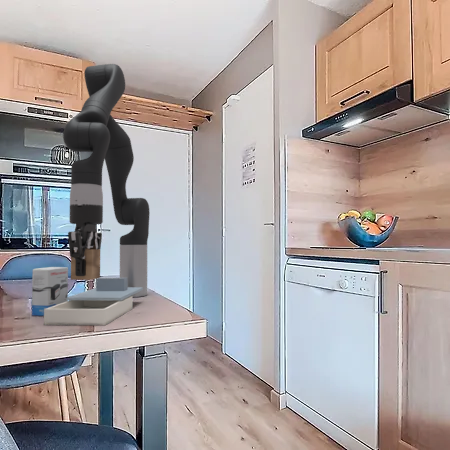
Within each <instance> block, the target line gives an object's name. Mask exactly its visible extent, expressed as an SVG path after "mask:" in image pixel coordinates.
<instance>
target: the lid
mask: <svg viewBox="0 0 450 450" xmlns="http://www.w3.org/2000/svg"><path fill="white" fill-rule="evenodd" d="M95 280H96V282H95V283H96V284H95V285H96V286H95V288H92V289H89V290H86V291H83V292H78V293H76V294H74V295H71V296H68V297H67V300H68V301H69V300H123V299H125V298H127V297H129V296H131V295H133V294H135V293H137V292H139V291H141V290H143V287H128V278H120V277H100V278H97V279H95Z"/></svg>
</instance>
